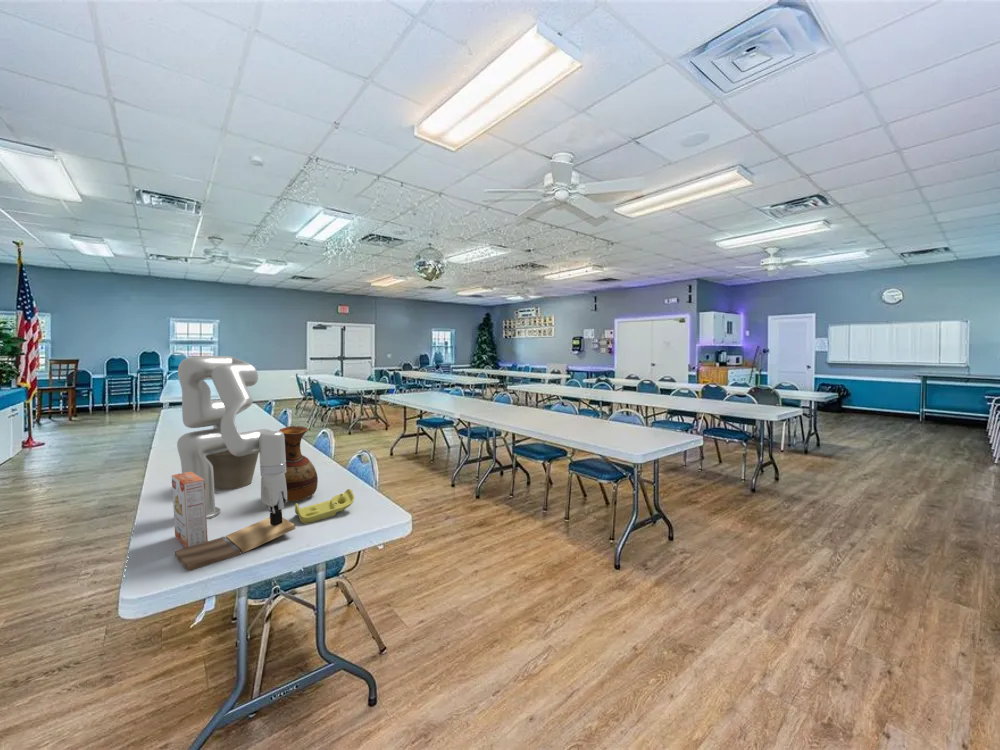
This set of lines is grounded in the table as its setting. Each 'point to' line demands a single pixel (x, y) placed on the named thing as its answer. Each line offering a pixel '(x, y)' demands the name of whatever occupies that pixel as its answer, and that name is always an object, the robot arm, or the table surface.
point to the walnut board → (206, 553)
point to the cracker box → (189, 508)
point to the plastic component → (325, 508)
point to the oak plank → (259, 534)
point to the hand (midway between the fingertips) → (276, 523)
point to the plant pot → (232, 469)
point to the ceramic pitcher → (298, 466)
